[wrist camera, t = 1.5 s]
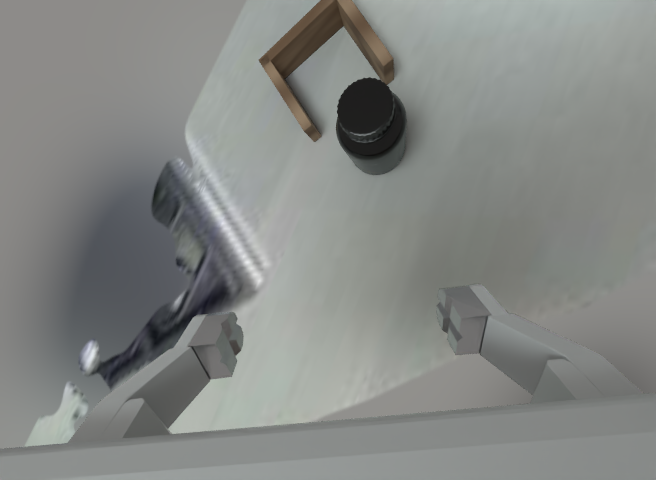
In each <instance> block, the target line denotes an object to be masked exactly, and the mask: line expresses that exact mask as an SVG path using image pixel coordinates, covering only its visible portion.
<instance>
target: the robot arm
mask: <svg viewBox="0 0 656 480" xmlns="http://www.w3.org/2000/svg"><path fill="white" fill-rule="evenodd" d="M438 299H439V300H440V303H439V304H438V305H437V310H436V313H437V319H438V322H439V325H440V327H441V329H442V330H443V331H444V332H446V333H447V334H448V338H447V340H448V342H449V344H450V346H451V348H452V349H453V351H454V353H455V355H463V354H477V353H480V355H481V356H482V357H484V358H485V359H486V360H488V361H489V362H490V363H492V364H493V365H494V366H496V367H497V368H498V369H499V370H501V371H502V372H503V373H504V374H506V375H507V376H508V377H510V378H511V379H512V380H514V381H515V382H516V383H517V384H519V385H520V386H521V387H523V388H524V389H526V390H527V391H528V392H529V393H531V394H532V395H533V397H532V400H531V402H530V404H519V405H507V406H495V407H484V408H472V409H461V410H450V411H437V412H427V413H414V414H403V415H391V416H379V417H368V418H356V419H345V420H333V421H321V422H309V423H298V424H286V425H274V426H263V427H251V428H239V429H228V430H216V431H204V432H193V433H181V434H172V433H171V432H170V431H169V430H168V428H169V427H170V426H171V425H172V423H173V422H174V421H175V420H176V419H177V418H178V417H179V415H180V414H181V413H182V412H183V411H184V410H185V409H186V408H187V406H188V405H189V404H190V403H191V402H192V401H193V400H194V398H195V397H196V396H197V395H198V394H199V393H200V392H201V390H202V389H203V388H204V387H205V386H206V385H207V384H208V383H209V381H210V379H217V378H225V377H232V375H233V372H234V369H235V366H236V363H237V359H236V357H235V356H236V355H237V354H238V353H239V352H240V351H241V349H242V346H243V331H242V328H241V327H240V326H239V325H238V324H236V322H237V316H236V314H235V313H234V312H224V313H213V314H204V315H196V316H195V317H193V319H192V320H191V322H190V323H189V325H188V326H187V328H186V330H185V331H184V333H183V334H182V336H181V337H180V339H179V341H178V342H177V344H176V345H175V347H174V348H173V349H169V350H168V351H166V352H165V353H164V354H162V355H161V356H160V357H158V358H157V359H156V360H154V361H153V362H152V363H150V364H149V365H148V366H146V367H145V368H143V369H142V370H141V371H139V372H138V373H137V374H135V375H134V376H133V377H131V378H130V379H129V380H127V381H126V382H125V383H123V384H122V385H121V386H119V387H118V388H117V389H115V390H114V391H113V392H111V393H110V394H109V395H107V396H106V397H105V398H103V399H102V400H101V401H100V402H99V403H98V404H97V406H96V407H95V408H94V409H93V411H92V412H91V413H90V415H89V416H88V417H87V419H86V420H85V421H84V422H83V424H82V425H81V426H80V428H79V429H78V430H77V431H76V433H75V434H74V435H73V437H72V438H71V439H70V440H69V442H68V443H64V444H52V445H40V446H28V447H17V448H5V449H0V480H656V393H647V394H644V393H643V392H642V391H641V390H640V389H639V388H638V387H636V386H635V385H634V384H633V383H632V382H631V381H630V380H629V379H627V378H626V377H625V376H624V375H623V374H622V373H621V372H620V371H618V370H617V369H616V368H615V367H614V366H613V365H612V364H611V363H610V362H608V361H607V360H606V359H605V358H604V357H603V356H602V355H601V354H599V353H597V352H595V351H592V350H590V349H588V348H586V347H584V346H582V345H580V344H578V343H575V342H573V341H571V340H569V339H567V338H565V337H563V336H560V335H558V334H556V333H554V332H552V331H550V330H548V329H545V328H543V327H541V326H539V325H537V324H535V323H533V322H530V321H528V320H526V319H524V318H522V317H520V316H518V315H516V314H513V313H511V314H508V312H507V311H506V310H505V309H504V308H503V307H502V306H501V305H500V304H499V303H498V301H497V300H496V299H495V298H494V297H493V296H492V295H491V294H490V293H489V291H488V290H487V289H486V288H485V287H484V286H483V285H481V284H473V285H466V286H459V287H451V288H442V289H439V291H438Z"/></svg>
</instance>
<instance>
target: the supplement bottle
mask: <svg viewBox="0 0 656 480" xmlns="http://www.w3.org/2000/svg"><path fill="white" fill-rule="evenodd" d="M337 107H338V110H337V114H338V118H337V123H336V133H337V138H338V140H339V143H340V145H341V146H342V148H343V149H344V151H345V152H346V153H347V155H348V156H349V157H350V159H351V160H352V161H353V162H354V164H355V165H356V166H357V167H358V168H359V169H360V170H362V171H363V172H365V173H368V174H372V175H378V174H383V173H386V172H388V171H390V170H392V169H393V168H394V167H396V166H397V164H398V163H399V162H400V161H401V159H402V157H403V154H404V151H405V145H406V124H407V119H406V112H405V108H404V106H403V104H402V102H401V100H400V99H399V98H398V97H397V96H396V95H395V94H394V93H393V92H392V91H391V90H390V89H389V87H388V86H386V84H385V83H384V82H382V81H381V80H377V79H376V78H370V77H369V78H363V79H361V80H357V81H356V82H353V83H352V84H351V85H349V86H348V88H347V89H345V90H344V93H343V94H342V95H341V98H340V99H339V104H338V106H337Z"/></svg>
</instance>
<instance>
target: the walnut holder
mask: <svg viewBox="0 0 656 480" xmlns="http://www.w3.org/2000/svg"><path fill="white" fill-rule="evenodd" d="M343 26H344V27H345V29H346V30H347V32H348V33H349V34H350V36H351V37H352V39H353V40H354V42H355V43H356V44H357V46H358V47H359V49H360V50H361V52H362V53H363V54H364V56H365V57H366V59H367V60H368V62H369V63H370V65H371V66H372V67H373V69H374V70H375V72H376V73H377V75H378V76H379V77H380V79H381V80H382V82H384V83H385V84H386V85H387V84H389V83H390V82H391V81H392V80H394V68H393V57H392V56H391V55H390V53H389V52H388V50H387V49H386V48H385V46H384V45H383V43H382V42H381V41H380V39H379V38H378V36H377V35H376V34H375V32H374V31H373V29H372V28H371V27H370V25H369V24H368V22H367V21H366V20H365V18H364V17H363V15H362V14H361V13H360V11H359V10H358V8H357V7H356V6H355V4H354V3H353V1H352V0H321V1H320V2H318V3H317V4H316V5H315V6H314V7H313V8H312V9H311V10H310V11H309V12H308V13H307V14H306V15H305V16H304V17H303V18H302V19H301V20H300V21H299V22H298V23H297V24H296V25H295V26H294V27H293V28H291V29H290V30H289V31H288V32H287V33H286V34H285V35H284V36H283V37H282V38H281V39H280V40H279V41H278V42H277V43H276V44H275V45H274V46H273V47H272V48H271V49H270V50H269V51H268V52H267V53H266V54H265V55H263V56H262V57H261V58H260V59H259V62H260V63H261V65H262V66H263V68H264V69H265V71H266V73H267V74H268V76H269V77H270V79H271V80H272V82H273V84H274V85H275V87H276V88H277V90H278V91H279V93H280V95H281V96H282V98H283V99H284V101H285V102H286V104H287V105H288V107H289V109H290V110H291V112H292V113H293V115H294V116H295V118H296V120H297V121H298V123H299V124H300V126H301V127H302V129H303V130H304V132H305V133H306V134H307V135H308V136H309V137H310V138H311V139H312V140H313V141H314V142H315V141H317V140H318V139H319V138H320V137H322V136H321V135H320V133H319V132H318V130H317V129H316V127H315V126H314V124H313V122H312V121H311V119H310V118H309V116H308V115H307V113H306V112H305V110H304V109H303V107H302V105H301V104H300V102H299V101H298V99H297V98H296V96H295V95H294V93H293V92H292V90H291V88H290V87H289V85H288V84H287V82H286V81H285V78H286V77H287V76H288V75H290V74H291V73H292V72H293V71H294V70H295V69H296V68H297V67H298V66H299V65H301V64H302V63H303V62H304V61H305V60H306V59H307V58H308V57H309V56H311V55H312V54H313V53H314V52H315V51H316V50H317V49H318V48H319V47H320V46H322V45H323V44H324V43H325V42H326V41H327V40H328V39H329V38H330V37H331V36H333V35H334V34H335V33H336V32H337V31H338V30H339V29H340V28H341V27H343Z"/></svg>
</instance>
